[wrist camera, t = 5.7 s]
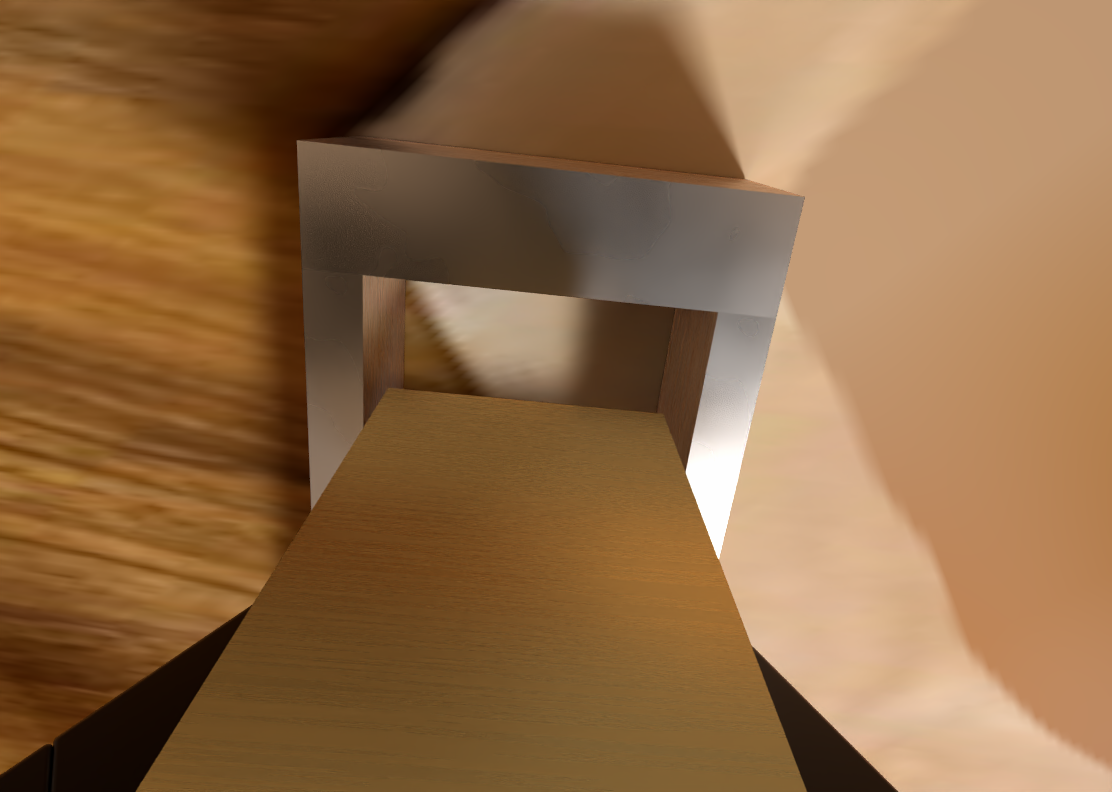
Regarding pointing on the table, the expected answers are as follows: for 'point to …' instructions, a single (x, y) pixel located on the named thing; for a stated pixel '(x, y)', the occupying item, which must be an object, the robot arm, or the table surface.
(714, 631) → the wooden toy block
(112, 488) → the table surface
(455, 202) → the grey slotted block holder
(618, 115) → the table surface
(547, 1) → the table surface
